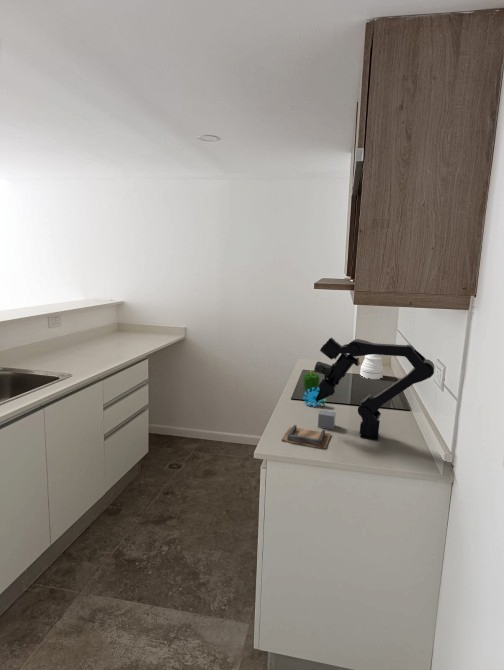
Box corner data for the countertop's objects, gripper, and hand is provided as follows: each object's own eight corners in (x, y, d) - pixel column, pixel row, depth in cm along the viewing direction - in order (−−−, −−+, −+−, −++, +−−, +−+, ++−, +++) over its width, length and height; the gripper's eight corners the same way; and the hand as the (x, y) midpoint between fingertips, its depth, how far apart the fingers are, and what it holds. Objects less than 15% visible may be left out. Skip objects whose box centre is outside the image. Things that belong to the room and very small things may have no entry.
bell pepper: (317, 393, 212) (318, 373, 210) (301, 390, 214) (302, 371, 213) (319, 388, 220) (321, 369, 218) (304, 386, 222) (305, 367, 220)
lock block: (334, 425, 171) (335, 412, 170) (332, 429, 166) (334, 416, 165) (319, 422, 173) (320, 410, 172) (317, 427, 168) (318, 414, 167)
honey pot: (383, 380, 241) (386, 349, 238) (360, 377, 244) (362, 347, 241) (381, 374, 254) (384, 345, 250) (359, 372, 256) (362, 343, 253)
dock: (330, 435, 161) (331, 429, 160) (325, 448, 148) (326, 442, 148) (289, 428, 165) (290, 422, 165) (281, 441, 153) (281, 434, 153)
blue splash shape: (298, 401, 193) (308, 383, 197) (301, 407, 198) (311, 389, 202) (320, 409, 187) (330, 391, 191) (322, 415, 192) (332, 397, 196)
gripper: (327, 348, 172) (306, 377, 178) (319, 361, 155) (296, 392, 161) (350, 365, 171) (328, 393, 176) (344, 379, 153) (320, 410, 159)
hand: (318, 396), depth 168 cm, fingers open, 9 cm apart
